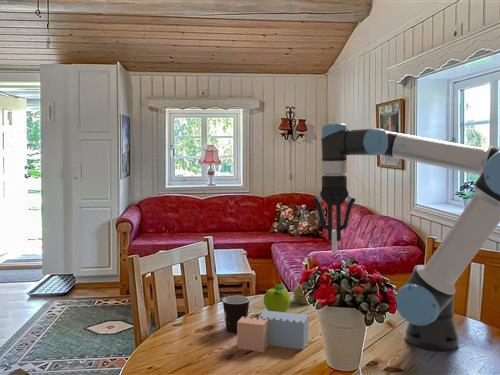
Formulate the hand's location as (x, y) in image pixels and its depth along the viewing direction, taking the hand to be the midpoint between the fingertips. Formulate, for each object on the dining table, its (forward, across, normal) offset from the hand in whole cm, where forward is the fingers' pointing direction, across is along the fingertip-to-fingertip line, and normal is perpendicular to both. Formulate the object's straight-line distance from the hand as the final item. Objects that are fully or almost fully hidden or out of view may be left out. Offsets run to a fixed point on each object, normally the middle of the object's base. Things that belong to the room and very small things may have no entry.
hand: (334, 251), depth 150 cm
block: (+27, +23, +14) cm, 38 cm away
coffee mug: (+27, +32, +1) cm, 41 cm away
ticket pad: (+27, +15, +8) cm, 32 cm away
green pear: (+27, +15, -31) cm, 44 cm away
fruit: (+27, +22, -16) cm, 38 cm away
